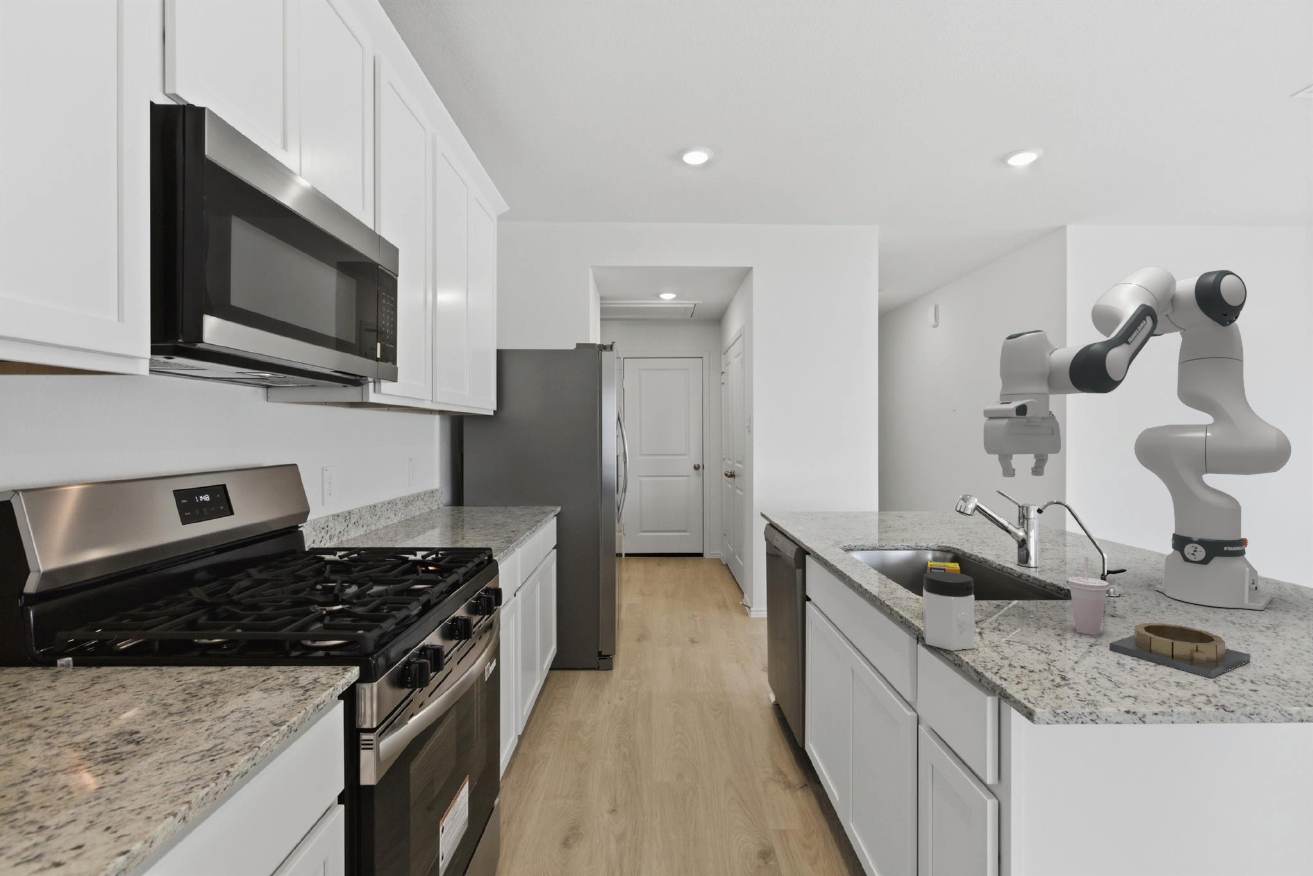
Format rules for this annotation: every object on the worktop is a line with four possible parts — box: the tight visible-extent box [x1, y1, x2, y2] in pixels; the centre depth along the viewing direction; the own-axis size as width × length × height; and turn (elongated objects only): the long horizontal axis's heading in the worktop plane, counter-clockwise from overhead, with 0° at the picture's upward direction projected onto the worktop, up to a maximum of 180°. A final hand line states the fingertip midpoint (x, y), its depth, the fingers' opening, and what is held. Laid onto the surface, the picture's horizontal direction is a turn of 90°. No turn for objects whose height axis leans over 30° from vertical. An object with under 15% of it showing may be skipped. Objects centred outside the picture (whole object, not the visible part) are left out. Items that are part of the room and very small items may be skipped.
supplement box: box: [926, 560, 961, 574], centre depth 126 cm, size 6×6×11 cm
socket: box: [1108, 622, 1251, 679], centre depth 105 cm, size 14×14×4 cm
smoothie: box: [1067, 556, 1110, 636], centre depth 117 cm, size 6×6×14 cm
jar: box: [922, 572, 976, 652], centre depth 111 cm, size 9×8×12 cm
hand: (1023, 476), depth 128 cm, fingers open, 8 cm apart
